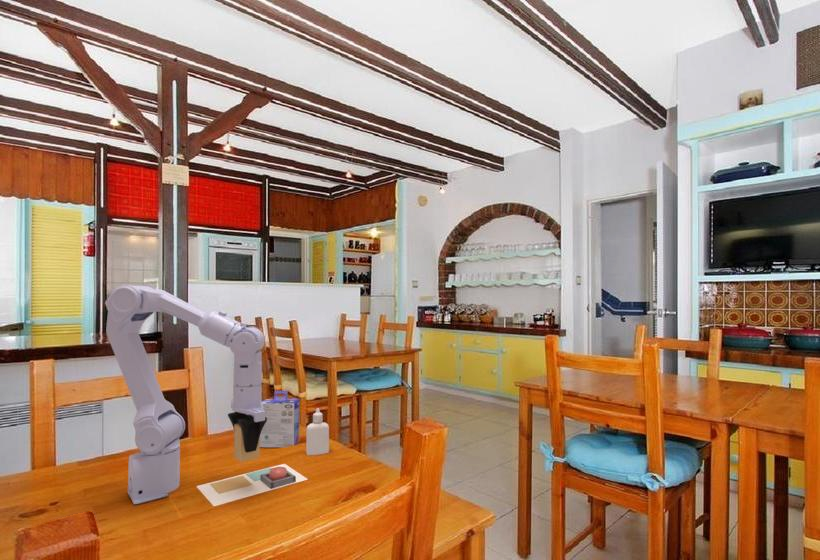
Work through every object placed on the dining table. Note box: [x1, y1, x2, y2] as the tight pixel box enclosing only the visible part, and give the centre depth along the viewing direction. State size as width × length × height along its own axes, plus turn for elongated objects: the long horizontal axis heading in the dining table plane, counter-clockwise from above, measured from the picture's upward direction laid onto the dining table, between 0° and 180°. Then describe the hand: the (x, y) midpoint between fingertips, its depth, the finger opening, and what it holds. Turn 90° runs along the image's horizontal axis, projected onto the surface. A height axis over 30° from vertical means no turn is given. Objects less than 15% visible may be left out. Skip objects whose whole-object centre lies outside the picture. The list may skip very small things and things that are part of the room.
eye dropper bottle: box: [305, 407, 330, 456], centre depth 120 cm, size 4×6×12 cm
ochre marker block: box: [233, 423, 261, 463], centre depth 99 cm, size 4×4×7 cm
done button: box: [269, 467, 287, 481], centre depth 102 cm, size 4×4×2 cm
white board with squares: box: [196, 463, 308, 507], centre depth 101 cm, size 20×12×2 cm, turn 130°
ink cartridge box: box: [260, 390, 300, 449], centre depth 128 cm, size 10×6×14 cm, turn 89°
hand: (246, 448), depth 99 cm, fingers closed on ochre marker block, 4 cm apart
